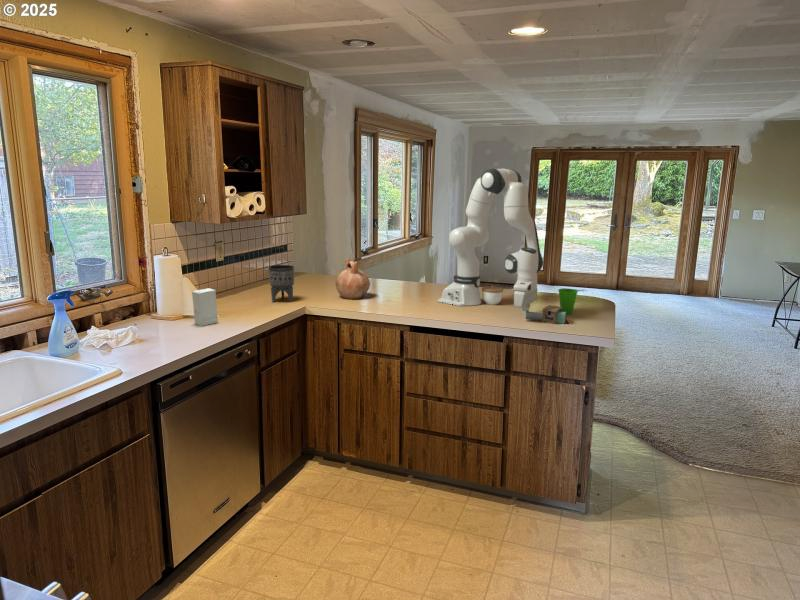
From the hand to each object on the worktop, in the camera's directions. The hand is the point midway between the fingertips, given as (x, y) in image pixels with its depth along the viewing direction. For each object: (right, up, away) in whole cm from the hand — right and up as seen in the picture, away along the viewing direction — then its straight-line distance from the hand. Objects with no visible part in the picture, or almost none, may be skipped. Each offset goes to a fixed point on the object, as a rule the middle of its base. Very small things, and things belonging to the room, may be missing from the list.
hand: (525, 313), depth 259 cm
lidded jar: (-11, +4, +29) cm, 31 cm away
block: (+14, -4, -8) cm, 16 cm away
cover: (+11, -3, -6) cm, 12 cm away
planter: (-118, +6, +32) cm, 122 cm away
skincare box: (-141, -4, -14) cm, 142 cm away
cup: (+22, 0, +9) cm, 23 cm away
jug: (-82, +8, +43) cm, 93 cm away
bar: (+6, -3, -4) cm, 8 cm away
